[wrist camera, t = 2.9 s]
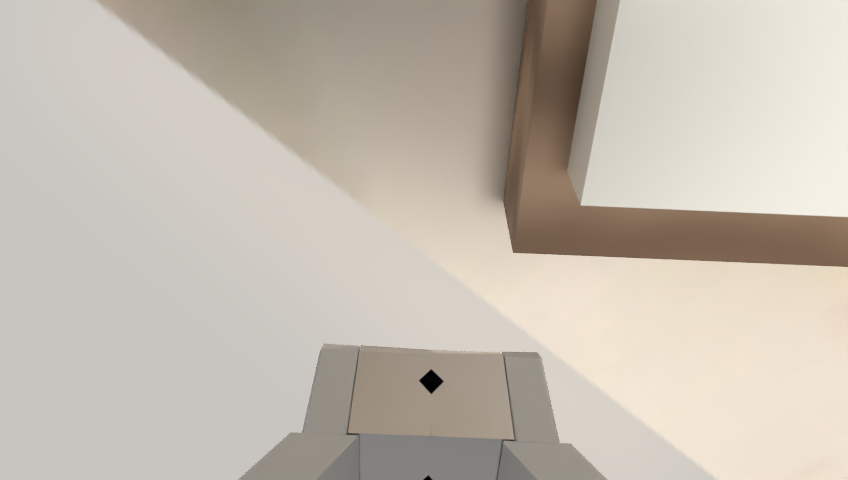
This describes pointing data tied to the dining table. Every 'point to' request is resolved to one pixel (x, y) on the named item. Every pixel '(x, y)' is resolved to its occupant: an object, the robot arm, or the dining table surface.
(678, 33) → the tile
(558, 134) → the board
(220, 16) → the dining table surface
